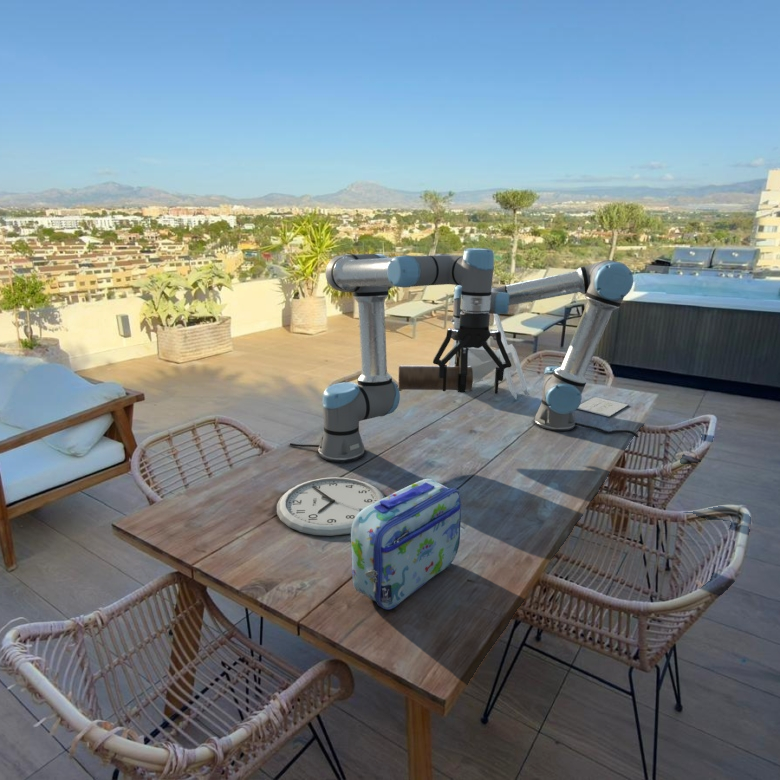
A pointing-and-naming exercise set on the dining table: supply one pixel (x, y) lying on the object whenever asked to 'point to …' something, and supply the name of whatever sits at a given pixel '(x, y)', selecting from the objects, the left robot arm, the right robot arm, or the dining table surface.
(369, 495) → the wall clock
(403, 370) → the rod
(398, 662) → the dining table surface
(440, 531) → the lunch box
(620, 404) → the invitation card
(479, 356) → the white plastic object
